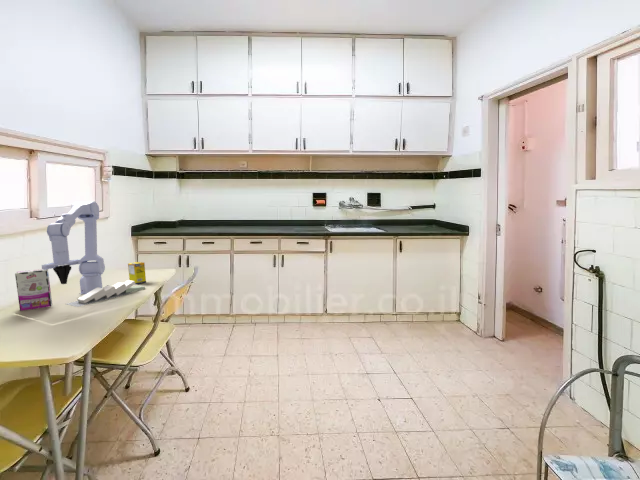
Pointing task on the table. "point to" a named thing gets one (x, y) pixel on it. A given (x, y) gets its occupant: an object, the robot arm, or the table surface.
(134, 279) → the supplement box
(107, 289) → the ivory domino
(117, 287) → the ivory domino
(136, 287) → the sage domino
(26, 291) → the candy bar box
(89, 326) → the table surface
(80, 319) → the table surface
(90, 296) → the ivory domino
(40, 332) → the table surface
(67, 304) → the slate board
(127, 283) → the ivory domino
